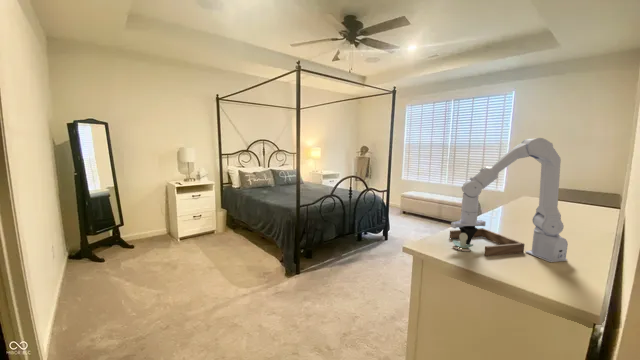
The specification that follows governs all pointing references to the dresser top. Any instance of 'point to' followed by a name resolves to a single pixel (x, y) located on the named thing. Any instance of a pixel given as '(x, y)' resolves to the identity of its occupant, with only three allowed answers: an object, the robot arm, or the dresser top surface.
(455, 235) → the open box
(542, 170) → the robot arm
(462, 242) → the pacifier
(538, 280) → the dresser top surface
